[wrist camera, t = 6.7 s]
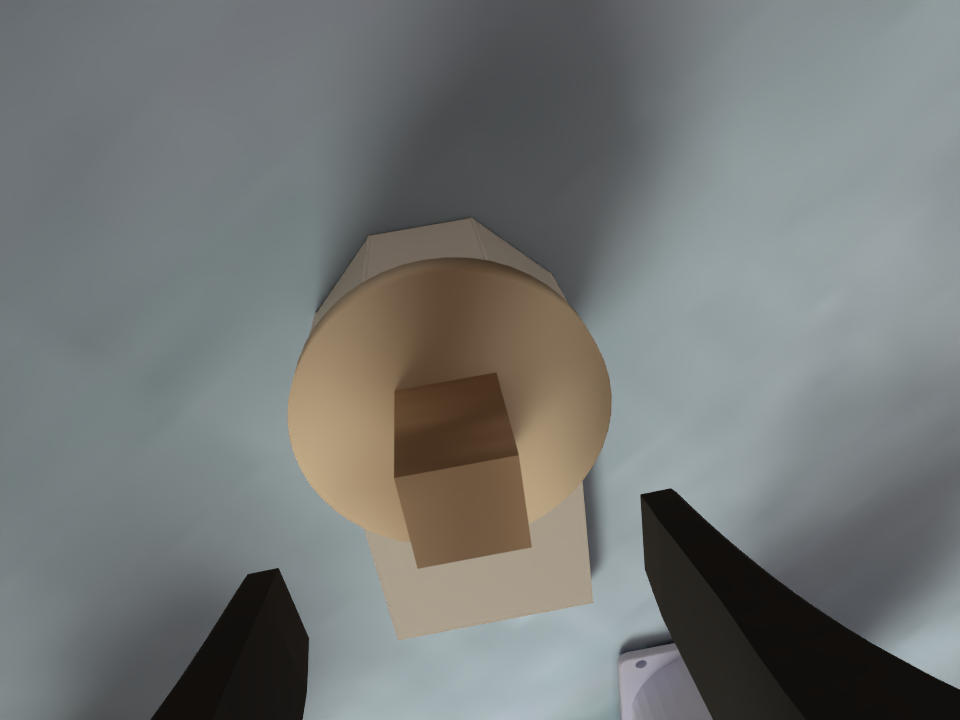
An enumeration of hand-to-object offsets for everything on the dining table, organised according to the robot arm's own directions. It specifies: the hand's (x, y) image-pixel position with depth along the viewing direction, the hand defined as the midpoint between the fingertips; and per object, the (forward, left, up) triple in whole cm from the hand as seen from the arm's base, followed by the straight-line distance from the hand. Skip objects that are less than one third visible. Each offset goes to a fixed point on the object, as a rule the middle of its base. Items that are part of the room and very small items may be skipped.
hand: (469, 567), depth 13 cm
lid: (0, 0, -6) cm, 6 cm away
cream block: (0, +8, -10) cm, 13 cm away
